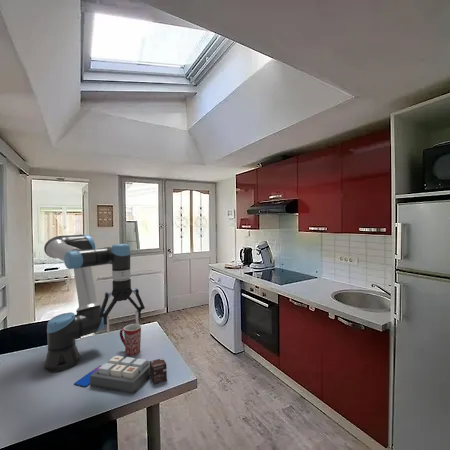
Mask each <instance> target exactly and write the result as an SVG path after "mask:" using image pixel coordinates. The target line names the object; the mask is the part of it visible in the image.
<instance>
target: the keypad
mask: <svg viewBox="0 0 450 450" xmlns="http://www.w3.org/2000/svg"><path fill="white" fill-rule="evenodd" d="M125 358H126V357H124V359H125ZM136 360H137V359H136V358H135V361H136ZM150 361H151V360H150ZM150 361H149V360H147V366H146V367H145V368H144V369H143V370H142V371H141V372H140V371H139V374H138V375H137V376H136V377H135V378H134V379H128V378H123V376H122V377H115V376H111V374H110V375H102V374H99V369H98V370H97V371H96V372H94V373H93V374H92V375H90V385H89V387H91V388H96V389H97V388H98V389H104V390H110V391H114V392H120V393H127V394H133V395H134V394H135V393H136V392H137V391H138V390H139V389H140V388H141V387H142V386H143V385H144V384H145V382H146V381H148V380H149V379H150ZM107 363H109V361H107Z"/></svg>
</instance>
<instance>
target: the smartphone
mask: <svg viewBox="0 0 450 450" xmlns="http://www.w3.org/2000/svg"><path fill="white" fill-rule="evenodd" d="M101 366H102V365H99V366H96V367H95V368H94V369H93V370H91V371H90V372H88V373H87V374H85V375H84V376H83V377H82V376H81V378H79V379H78V380H76V381H75V382H74V383H73V385H74V386H77V387H80V388H87V387H90V375H92V374H93V373H94V372H96V371H97V370H98V369H99V368H100V367H101Z"/></svg>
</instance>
